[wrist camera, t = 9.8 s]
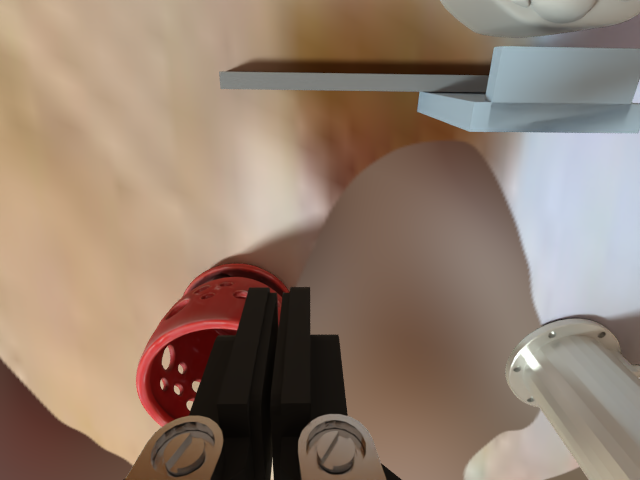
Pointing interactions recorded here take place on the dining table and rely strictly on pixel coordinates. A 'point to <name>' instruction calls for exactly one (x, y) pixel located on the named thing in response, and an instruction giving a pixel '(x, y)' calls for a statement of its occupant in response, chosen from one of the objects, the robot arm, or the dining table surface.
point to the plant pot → (196, 335)
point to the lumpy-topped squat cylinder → (539, 15)
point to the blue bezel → (547, 92)
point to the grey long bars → (353, 81)
